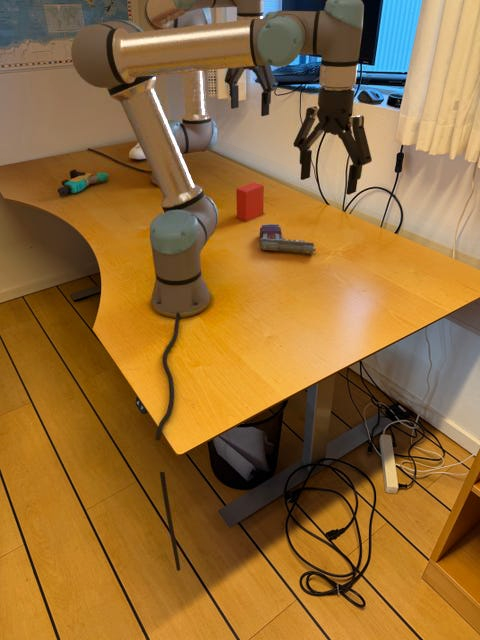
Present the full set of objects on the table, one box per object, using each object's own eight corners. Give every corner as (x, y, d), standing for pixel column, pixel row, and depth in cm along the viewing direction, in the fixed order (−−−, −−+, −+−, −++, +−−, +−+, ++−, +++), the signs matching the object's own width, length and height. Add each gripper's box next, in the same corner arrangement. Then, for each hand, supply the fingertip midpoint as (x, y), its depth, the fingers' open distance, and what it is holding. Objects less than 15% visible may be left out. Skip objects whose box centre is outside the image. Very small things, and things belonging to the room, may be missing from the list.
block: (263, 214, 171) (263, 185, 165) (246, 221, 166) (245, 192, 160) (254, 210, 174) (254, 182, 168) (236, 217, 169) (236, 188, 163)
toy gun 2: (318, 236, 156) (314, 258, 144) (261, 232, 159) (253, 253, 147) (319, 225, 153) (315, 247, 141) (262, 221, 156) (253, 242, 145)
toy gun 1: (36, 183, 186) (64, 189, 180) (82, 165, 204) (109, 170, 199) (38, 194, 188) (67, 201, 183) (84, 175, 207) (111, 180, 201)
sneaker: (123, 162, 220) (119, 135, 213) (150, 145, 242) (147, 120, 235) (143, 164, 218) (140, 137, 210) (169, 146, 240) (166, 121, 232)
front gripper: (399, 92, 95) (381, 194, 107) (303, 77, 109) (297, 169, 122) (378, 98, 90) (362, 204, 103) (281, 82, 105) (277, 176, 118)
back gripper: (291, 35, 132) (287, 116, 145) (230, 29, 147) (231, 103, 159) (272, 38, 128) (270, 120, 141) (211, 31, 142) (214, 106, 155)
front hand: (327, 185), depth 112 cm, fingers open, 13 cm apart
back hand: (249, 111), depth 150 cm, fingers open, 13 cm apart
